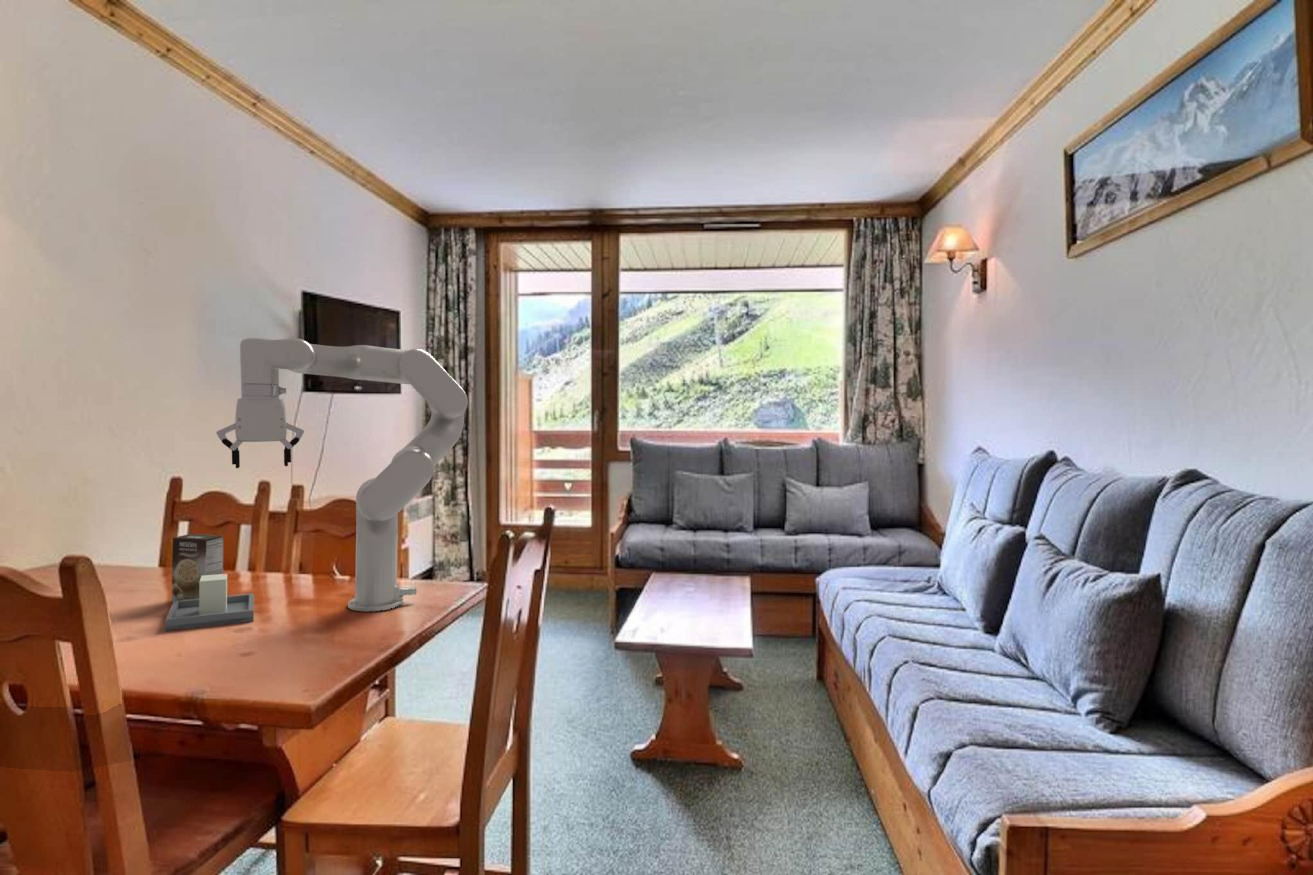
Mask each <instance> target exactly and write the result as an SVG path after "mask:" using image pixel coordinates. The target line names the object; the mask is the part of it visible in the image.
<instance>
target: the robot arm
mask: <svg viewBox="0 0 1313 875" xmlns="http://www.w3.org/2000/svg"><path fill="white" fill-rule="evenodd" d="M239 354H240V356H239V357H240V360H239V361H240V362H239V363H240V394H241V395H240V396H241V398H237V400H236V406H235V407H236V408H235V417H234V419H235V420H234V423H233V424H230V425H228V426H225V427H224V428H221V429H219V430H217V431H216V432H215V433H216V435H217V437H218V438H219V440H220V441H221V443H222V444H223V445H224V446H226V447H227V448H228V449H229V450H230V451H231V464H232V465H233V466H234V465H235V469H240V465H241V462H240V461H241V460H240V450H239V447H240V445H242V444H243V443H259V442H262V443H263V442H280V443H281V444H282V445H283V446H284V449H283V466H284V467H289V463H292V449H293V447H295V446H296V445H297V444H298V443H299V442H300V440H301V439H302V436H303V434H304V433H305V431H304V430H303V429H302V428H300V427H297V426H295V425H292V424H291V423H288V422H287V416H286V415H287V414H286V408H285V402H284V399H283V398H280V396H281V395H286V394H287V387H281V386H280V375H279V374H280V372H279V369H280V370H287V371H290V372H293V373H297V374H304V375H305V374H306V375H315V376H326V377H337V378H345V379H350V380H351V379H352V380H358V381H359V380H360V381H369V382H371V381H372V382H381V383H391V384H392V383H393V384H401V385H402V384H403V385H410V386H411V387H412V388H413V389H415V391H416V392H417V393H418V394H419V396H421V397H422V398H423V400H425V401H426V402H427V404H428V406H429V409H430V412H431V413H430V414H431V415H430V420H429V422H427V424H426V426H425V427H424V428H423V429H421V431H420V432H419V433H417V435H415V437H414V438H413V439H412V440H411V441H409V442H408V443H407V444H406V445H405V446H403V448H402V449H400V450H398V452H397V453H395V454H394V456H393V457H392V460H391V461H390V463H389V464H388V465H387V466H386V467H385V468H384V469H383V470H382V471H381V472H380V473H378V475H377V476H375V477H374V478H369V479H367V480H365V481H364V482H363V483H362V484H361V485H360V487H359V488H358V490H357V493H356V498H355V508H356V509H355V510H356V512H355V515H356V517H355V519H356V520H355V521H356V524H355V526H356V529H355V536H356V537H355V539H356V540H355V584H354V586H355V590H354V591H355V593H354V594H355V595H354V597H353V598H351V599H350V600H349V601H348V602H347V608H349V610H352V611H355V612H367V613H368V612H370V611H371V612H380V611H381V610H382V611H388V610H392V609H395V607H396V608H397V606H398V607H400V606H401V605H403V603H404V596H414V595H417V586H410V585H409V586H408V585H407V586H399V584H398V580H397V579H398V541H399V540H398V539H399V536H398V535H399V532H398V530H399V529H398V528H399V516H398V515H399V513H400V512H401V510H403V509H404V508H405V507H406V506H407V505H408V504H409V503H410V502H411V500H413V499H414V498H415V497H416V496H417V495H418V494H419V493H420V492H421V491H422V490H423V489H424V488H425V487H426V486H427V484H429V482H430V481H431V480H432V478H433V476H434V473H435V467H436V466H437V464H439V462H440V461H441V460H442V459H444V457H445V456H446V455H447V454H448V453H449V452H450V451H451V450H452V449H453V447H454V446H455V445H456V444H457V442H458V441H459V439H460V437H461V435H462V433H463V429H464V422H465V414H464V413H465V411H466V410H467V409H468V403H469V402H468V396H467V393H466V392H465V390H464V389H463V387H462V386H461V385H459V383H458V382H457V381H456V380H455V379H454V377H452V376H451V375H450V374H449V373H448V372H447V371H446V369H445V368H443V366H442V365H441V364H440V363H439V362H438V361H437V360H436V359H435V358H434V357H433V356H432V355H431V353H429V352H427V351H426V350H424V349H420V348H412V349H409V350H408V349H399V348H391V347H381V346H376V345H375V346H373V345H367V344H361V345H360V344H357V345H350V346H349V345H348V346H334V345H333V346H332V345H322V344H315V343H314V344H313V343H310V342H308V341H306V340H304V339H302V338H295V337H294V338H293V337H292V338H281V339H270V338H261V337H250V338H249V337H248V338H244V339H242V340H241V342H240V343H239ZM288 430H290V431H292V432H294V433H295V436H294V438H292V439H291V440H290V441H289V440H287V434H288V433H287V431H288ZM232 431H234V432H235V438H236V440H235V441H234V442H232V441H230V440H229V439H228V437H227V436H226V434H228V433H230V432H232ZM400 604H401V605H400ZM399 605H400V606H399ZM391 608H392V609H391ZM382 611H381V612H382Z"/></svg>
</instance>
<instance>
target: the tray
mask: <svg viewBox="0 0 1313 875" xmlns="http://www.w3.org/2000/svg"><path fill="white" fill-rule="evenodd" d="M254 606H255V592H254V593H244V594H243V593H242V594H235V595H233V594H232V595H227V610H226V612H222V613H213V614H203V615H199V599H190V600H180V601H174V602H172V604H171V607H170V608H169V611H168V613H167V616H166V619H165V632H172V631H179V630H180V631H181V630H188V629H189V630H190V629H197V628H208V627H217V626H225V625H233V624H241V623H240V622H243V623H251V621H252V622H254V614H255V613H254V612H255V610H254V609H255V607H254ZM224 624H225V625H224Z"/></svg>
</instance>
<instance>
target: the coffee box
mask: <svg viewBox="0 0 1313 875" xmlns="http://www.w3.org/2000/svg"><path fill="white" fill-rule="evenodd" d="M224 541H225V540H224V535H220V534H219V535H218V534H206V533H205V534H204V533H194V532H193V533H189V534H184V535H178V536H175V537H173V538H172V558H171V559H172V560H171V561H172V563H171V564H172V568H171V569H172V570H171V571H172V572H171V573H172V574H171V603H173V602H174V601H180V600H190V599H199V581H200V579H201V576H204V575H216V574H224V544H225V543H224Z"/></svg>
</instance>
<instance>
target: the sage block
mask: <svg viewBox="0 0 1313 875" xmlns="http://www.w3.org/2000/svg"><path fill="white" fill-rule="evenodd" d="M227 596H228V573H223V574H216V575H204V576H201V579H200V581H199V615H203V614H213V613H222V612H226V610H227Z"/></svg>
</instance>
